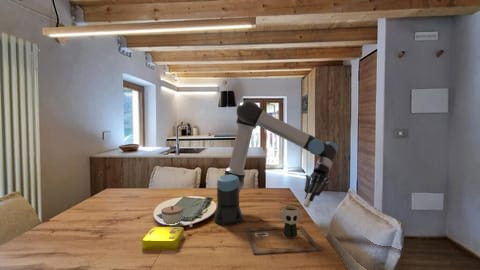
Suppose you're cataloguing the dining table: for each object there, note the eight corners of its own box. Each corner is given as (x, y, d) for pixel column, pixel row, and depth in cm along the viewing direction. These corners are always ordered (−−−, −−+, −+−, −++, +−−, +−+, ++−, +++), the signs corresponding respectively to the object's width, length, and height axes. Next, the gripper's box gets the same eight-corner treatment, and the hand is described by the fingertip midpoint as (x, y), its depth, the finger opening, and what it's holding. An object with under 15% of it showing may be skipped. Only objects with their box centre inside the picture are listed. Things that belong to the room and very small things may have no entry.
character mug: (279, 239, 124) (280, 210, 123) (277, 232, 131) (277, 205, 131) (304, 238, 125) (304, 210, 124) (300, 232, 132) (300, 205, 131)
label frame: (253, 254, 110) (253, 253, 110) (245, 229, 135) (245, 228, 135) (321, 250, 113) (321, 249, 113) (301, 227, 138) (301, 225, 138)
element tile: (153, 235, 130) (152, 225, 130) (184, 235, 130) (184, 225, 130) (140, 250, 116) (140, 239, 115) (176, 250, 115) (176, 239, 115)
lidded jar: (187, 223, 144) (186, 205, 143) (169, 229, 136) (168, 210, 135) (175, 218, 151) (175, 201, 150) (157, 224, 143) (157, 206, 143)
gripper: (336, 173, 144) (320, 212, 133) (314, 170, 153) (297, 207, 142) (332, 164, 140) (315, 204, 129) (309, 161, 149) (291, 199, 138)
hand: (305, 205), depth 136 cm, fingers closed
